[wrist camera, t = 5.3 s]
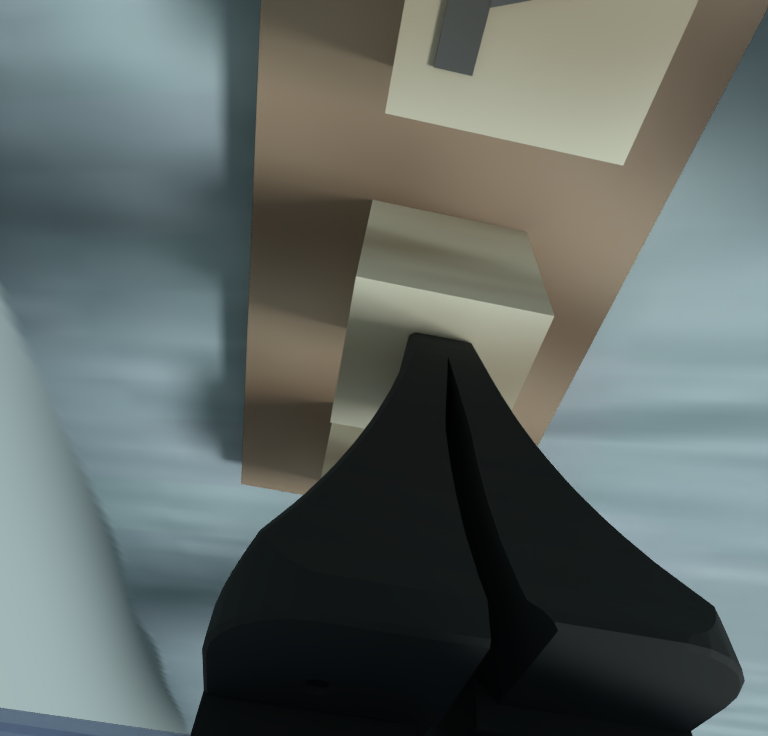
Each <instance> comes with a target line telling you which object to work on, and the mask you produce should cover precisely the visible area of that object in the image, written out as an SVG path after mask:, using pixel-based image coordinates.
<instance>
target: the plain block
mask: <svg viewBox="0 0 768 736" xmlns="http://www.w3.org/2000/svg"><path fill="white" fill-rule="evenodd" d="M553 318H554V313H553V310H552V307H551V304H550V301H549V298H548V295H547V292H546V289H545V286H544V283H543V280H542V277H541V274H540V271H539V268H538V265H537V262H536V259H535V256H534V253H533V250H532V247H531V244H530V241H529V238H528V235H527V232H524V231H520V230H515V229H510V228H505V227H500V226H496V225H491V224H486V223H481V222H477V221H472V220H467V219H462V218H458V217H453V216H448V215H443V214H438V213H434V212H429V211H424V210H419V209H415V208H410V207H405V206H400V205H396V204H391V203H386V202H381V201H377V200H373V201H372V206H371V210H370V215H369V219H368V224H367V228H366V233H365V238H364V242H363V247H362V251H361V256H360V260H359V265H358V269H357V274H356V279H355V285H354V290H353V296H352V302H351V307H350V313H349V319H348V324H347V330H346V335H345V341H344V347H343V352H342V358H341V364H340V369H339V375H338V380H337V386H336V392H335V397H334V403H333V409H332V414H331V420H330V423H336V424H341V425H347V426H352V427H358V428H363V429H365V428H366V426H367V425H368V424H369V422H370V421H371V419H372V418H373V417H374V415H375V414H376V412H377V411H378V409H379V407H380V406H381V404H382V402H383V401H384V399H385V398H386V396H387V394H388V393H389V391H390V389H391V387H392V386H393V384H394V382H395V379H396V377H397V375H398V373H399V371H400V367H401V363H402V360H403V356H404V352H405V348H406V344H407V341H408V337H409V335H411V334H413V333H415V332H417V333H422V334H427V335H433V336H438V337H443V338H448V339H453V340H458V341H463V342H469V343H472V345H473V347H474V348H475V350H476V352H477V354H478V355H479V357H480V359H481V361H482V362H483V364H484V366H485V368H486V369H487V371H488V373H489V375H490V376H491V378H492V380H493V382H494V383H495V385H496V387H497V388H498V390H499V392H500V393H501V395H502V397H503V398H504V400H505V401H506V403H507V404H508V406H509V407H510V409H511V410H512V408H513V406H514V404H515V402H516V399H517V397H518V395H519V393H520V391H521V388H522V386H523V384H524V382H525V380H526V377H527V375H528V373H529V371H530V369H531V366H532V364H533V362H534V360H535V358H536V355H537V353H538V351H539V349H540V347H541V345H542V342H543V340H544V338H545V336H546V334H547V331H548V329H549V327H550V325H551V323H552V320H553Z"/></svg>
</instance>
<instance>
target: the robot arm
mask: <svg viewBox="0 0 768 736" xmlns="http://www.w3.org/2000/svg"><path fill="white" fill-rule="evenodd" d="M202 655H203V679H204V692H203V695H202V699H201V702H200V705H199V709H198V712H197V715H196V719H195V722H194V725H193V729H192V732H191V735H188V734H181V733H174V732H167V731H160V730H153V729H146V728H138V727H132V726H125V725H118V724H110V723H104V722H97V721H90V720H83V719H76V718H69V717H61V716H54V715H47V714H40V713H33V712H26V711H19V710H12V709H5V708H0V736H692V733H691V731H692V730H693V729H695V728H696V727H698V726H699V725H701V724H702V723H704V722H705V721H706V720H708V719H709V718H711V717H712V716H714V715H715V714H717V713H718V712H720V711H721V710H723V709H724V708H726V707H727V706H728V705H729V704H730V703H731V702H732V701H733V700H734V699H736V698H737V696H738V694H739V693H740V690H741V688H742V686H743V683H744V681H745V680H744V676H743V672H742V668H741V666H740V664H739V661H738V659H737V657H736V654H735V652H734V650H733V647H732V645H731V642H730V640H729V638H728V635H727V633H726V631H725V629H724V626H723V624H722V622H721V620H720V617H719V615H718V614H717V612H716V610H715V607H714V606H713V605H711V604H710V603H709V602H707V601H706V600H705V599H703V598H702V597H701V596H699V595H698V594H697V593H695V592H694V591H692V590H691V589H690V588H688V587H687V586H686V585H684V584H683V583H682V582H680V581H679V580H678V579H676V578H675V577H674V576H672V575H671V574H670V573H668V572H667V571H665V570H664V569H663V568H661V567H660V566H659V565H658V564H656V563H655V562H654V561H653V560H651V559H650V558H649V557H648V556H647V555H645V554H644V553H643V552H642V551H641V550H639V549H638V548H637V547H636V546H635V545H633V544H632V543H631V542H630V541H629V540H627V539H626V538H625V537H624V536H623V535H622V534H620V533H619V532H618V531H617V530H616V529H615V528H614V527H613V526H612V525H610V524H609V523H608V522H607V521H606V520H605V519H604V518H603V517H602V516H601V515H600V514H599V513H598V512H597V511H596V510H595V509H594V508H593V507H592V506H591V505H590V504H589V503H587V502H586V501H585V500H584V499H583V498H582V497H581V496H580V495H579V494H578V493H577V492H576V490H575V489H574V488H573V487H572V486H571V485H570V484H569V483H568V482H567V481H566V480H565V479H564V478H563V476H562V475H561V474H560V473H559V472H558V471H557V470H556V468H555V467H554V466H553V465H552V464H551V463H550V461H549V460H548V459H547V458H546V457H545V456H544V454H543V453H542V452H541V451H540V449H539V448H538V447H537V446H536V444H535V443H534V442H533V440H532V439H531V438H530V436H529V435H528V434H527V432H526V431H525V429H524V428H523V427H522V425H521V424H520V423H519V421H518V420H517V418H516V417H515V415H514V414H513V412H512V411H511V409H510V407H509V406H508V404H507V403H506V401H505V400H504V398H503V397H502V395H501V393H500V392H499V390H498V388H497V387H496V385H495V383H494V382H493V380H492V378H491V376H490V375H489V373H488V371H487V369H486V368H485V366H484V364H483V362H482V361H481V359H480V357H479V355H478V354H477V352H476V350H475V348H474V347H473V345H472V343H469V342H463V341H458V340H453V339H448V338H443V337H438V336H433V335H427V334H422V333H417V332H415V333H413V334H411V335H409V337H408V341H407V344H406V348H405V352H404V356H403V360H402V363H401V367H400V371H399V373H398V375H397V377H396V379H395V382H394V384H393V386H392V387H391V389H390V391H389V393H388V394H387V396H386V398H385V399H384V401H383V402H382V404H381V406H380V407H379V409H378V411H377V412H376V414H375V415H374V417H373V418H372V419H371V421H370V422H369V424H368V425H367V426H366V428H365V429H364V430H363V432H362V433H361V434H360V436H359V437H358V438H357V439H356V441H355V442H354V443H353V444H352V445H351V447H350V448H349V449H348V450H347V451H346V452H345V454H344V455H343V456H342V457H341V458H340V459H339V460H338V461H337V463H336V464H335V465H334V466H333V467H332V468H331V469H330V470H329V471H328V472H327V473H326V474H325V475H324V476H323V477H322V478H321V479H320V480H319V481H318V482H317V483H315V484H314V485H313V486H312V487H311V488H310V489H309V490H308V491H307V492H306V493H305V494H304V495H303V496H302V497H301V498H299V499H298V500H297V501H296V502H295V503H294V504H292V505H291V506H290V507H289V508H287V509H286V510H285V511H284V512H282V513H281V514H280V515H279V516H277V517H276V518H275V519H274V520H272V521H271V522H270V523H269V524H267V525H266V526H265V527H264V528H262V529H261V530H260V531H259V532H258V534H257V535H256V537H255V538H254V540H253V541H252V542H251V544H250V545H249V547H248V548H247V550H246V551H245V553H244V554H243V556H242V557H241V559H240V560H239V562H238V563H237V565H236V566H235V568H234V570H233V571H232V573H231V575H230V576H229V578H228V580H227V582H226V583H225V585H224V587H223V589H222V591H221V593H220V596H219V598H218V600H217V602H216V604H215V607H214V610H213V613H212V616H211V620H210V623H209V626H208V630H207V633H206V637H205V640H204V644H203V648H202Z"/></svg>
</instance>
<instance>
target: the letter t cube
mask: <svg viewBox="0 0 768 736" xmlns="http://www.w3.org/2000/svg"><path fill="white" fill-rule="evenodd" d="M697 2H698V0H405V3H404V9H403V14H402V20H401V26H400V31H399V37H398V42H397V48H396V54H395V59H394V65H393V71H392V76H391V82H390V87H389V93H388V99H387V104H386V110H385V113H386V114H391V115H395V116H400V117H404V118H409V119H413V120H418V121H423V122H427V123H432V124H436V125H441V126H445V127H450V128H454V129H459V130H463V131H468V132H472V133H477V134H482V135H486V136H491V137H495V138H500V139H504V140H509V141H513V142H518V143H522V144H527V145H531V146H536V147H541V148H545V149H550V150H554V151H559V152H563V153H568V154H572V155H577V156H581V157H586V158H590V159H595V160H600V161H604V162H609V163H613V164H618V165H622V166H623V165H624V163H625V160H626V158H627V156H628V154H629V152H630V149H631V147H632V145H633V143H634V141H635V138H636V136H637V134H638V132H639V130H640V127H641V125H642V123H643V121H644V119H645V116H646V114H647V112H648V110H649V108H650V106H651V103H652V101H653V99H654V97H655V95H656V92H657V90H658V88H659V86H660V84H661V81H662V79H663V77H664V75H665V73H666V70H667V68H668V66H669V64H670V62H671V59H672V57H673V55H674V53H675V51H676V48H677V46H678V44H679V42H680V40H681V38H682V35H683V33H684V31H685V29H686V27H687V24H688V22H689V20H690V18H691V16H692V13H693V11H694V9H695V7H696V5H697Z"/></svg>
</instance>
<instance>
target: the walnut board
mask: <svg viewBox="0 0 768 736" xmlns="http://www.w3.org/2000/svg"><path fill="white" fill-rule="evenodd" d="M404 3H405V0H261V11H260V36H259V60H258V85H257V109H256V134H255V158H254V183H253V207H252V232H251V257H250V281H249V306H248V330H247V355H246V379H245V404H244V428H243V453H242V477H241V484H244V485H250V486H256V487H262V488H267V489H273V490H279V491H285V492H291V493H296V494H302V495H304V494H305V493H306V492H307V491H308V490H309V489H310V488H311V487H312V486H313V485H314V484H315V483H317V482H318V481H319V480H320V479H321V474H322V469H323V464H324V460H325V455H326V450H327V445H328V440H329V435H330V430H331V425H332V423H330V420H331V414H332V409H333V403H334V397H335V392H336V386H337V380H338V375H339V369H340V364H341V358H342V352H343V347H344V341H345V335H346V330H347V324H348V319H349V313H350V307H351V302H352V296H353V290H354V285H355V279H356V274H357V269H358V265H359V260H360V256H361V251H362V247H363V242H364V238H365V233H366V228H367V224H368V219H369V215H370V210H371V206H372V201H373V200H377V201H381V202H386V203H391V204H396V205H400V206H405V207H410V208H415V209H419V210H424V211H429V212H434V213H438V214H443V215H448V216H453V217H458V218H462V219H467V220H472V221H477V222H481V223H486V224H491V225H496V226H500V227H505V228H510V229H515V230H520V231H524V232H527V235H528V238H529V241H530V244H531V247H532V250H533V253H534V256H535V259H536V262H537V265H538V268H539V271H540V274H541V277H542V280H543V283H544V286H545V289H546V292H547V295H548V298H549V301H550V304H551V307H552V310H553V313H554V318H553V320H552V323H551V325H550V327H549V329H548V331H547V334H546V336H545V338H544V340H543V342H542V345H541V347H540V349H539V351H538V353H537V355H536V358H535V360H534V362H533V364H532V366H531V369H530V371H529V373H528V375H527V377H526V380H525V382H524V384H523V386H522V388H521V391H520V393H519V395H518V397H517V399H516V402H515V404H514V406H513V408H512V410H511V411H512V412H513V414H514V415H515V417H516V418H517V420H518V421H519V423H520V424H521V425H522V427H523V428H524V429H525V431H526V432H527V434H528V435H529V436H530V438H531V439H532V440H533V442H534V443H535V444H536V446H538V444H539V442H540V440H541V439H542V437H543V435H544V433H545V431H546V429H547V427H548V425H549V423H550V421H551V420H552V418H553V416H554V414H555V412H556V410H557V408H558V406H559V404H560V402H561V401H562V399H563V397H564V395H565V393H566V391H567V389H568V387H569V385H570V383H571V381H572V380H573V378H574V376H575V374H576V372H577V370H578V368H579V366H580V364H581V362H582V361H583V359H584V357H585V355H586V353H587V351H588V349H589V347H590V345H591V343H592V342H593V340H594V338H595V336H596V334H597V332H598V330H599V328H600V326H601V324H602V323H603V321H604V319H605V317H606V315H607V313H608V311H609V309H610V307H611V305H612V304H613V302H614V300H615V298H616V296H617V294H618V292H619V290H620V288H621V286H622V285H623V283H624V281H625V279H626V277H627V275H628V273H629V271H630V269H631V267H632V265H633V264H634V262H635V260H636V258H637V256H638V254H639V252H640V250H641V248H642V246H643V245H644V243H645V241H646V239H647V237H648V235H649V233H650V231H651V229H652V227H653V226H654V224H655V222H656V220H657V218H658V216H659V214H660V212H661V210H662V208H663V207H664V205H665V203H666V201H667V199H668V197H669V195H670V193H671V191H672V189H673V188H674V186H675V184H676V182H677V180H678V178H679V176H680V174H681V172H682V170H683V168H684V167H685V165H686V163H687V161H688V159H689V157H690V155H691V153H692V151H693V149H694V148H695V146H696V144H697V142H698V140H699V138H700V136H701V134H702V132H703V130H704V129H705V127H706V125H707V123H708V121H709V119H710V117H711V115H712V113H713V111H714V110H715V108H716V106H717V104H718V102H719V100H720V98H721V96H722V94H723V92H724V91H725V89H726V87H727V85H728V83H729V81H730V79H731V77H732V75H733V73H734V71H735V70H736V68H737V66H738V64H739V62H740V60H741V58H742V56H743V54H744V52H745V51H746V49H747V47H748V45H749V43H750V41H751V39H752V37H753V35H754V33H755V32H756V30H757V28H758V26H759V24H760V22H761V20H762V18H763V16H764V14H765V13H766V11H767V9H768V0H698V2H697V5H696V7H695V9H694V11H693V13H692V16H691V18H690V20H689V22H688V24H687V27H686V29H685V31H684V33H683V35H682V38H681V40H680V42H679V44H678V46H677V48H676V51H675V53H674V55H673V57H672V59H671V62H670V64H669V66H668V68H667V70H666V73H665V75H664V77H663V79H662V81H661V84H660V86H659V88H658V90H657V92H656V95H655V97H654V99H653V101H652V103H651V106H650V108H649V110H648V112H647V114H646V116H645V119H644V121H643V123H642V125H641V127H640V130H639V132H638V134H637V136H636V138H635V141H634V143H633V145H632V147H631V149H630V152H629V154H628V156H627V158H626V160H625V163H624V165H623V166H622V165H618V164H613V163H609V162H604V161H600V160H595V159H590V158H586V157H581V156H577V155H572V154H568V153H563V152H559V151H554V150H550V149H545V148H541V147H536V146H531V145H527V144H522V143H518V142H513V141H509V140H504V139H500V138H495V137H491V136H486V135H482V134H477V133H472V132H468V131H463V130H459V129H454V128H450V127H445V126H441V125H436V124H432V123H427V122H423V121H418V120H413V119H409V118H404V117H400V116H395V115H391V114H386V113H385V110H386V104H387V99H388V93H389V87H390V82H391V76H392V71H393V65H394V59H395V54H396V48H397V42H398V37H399V31H400V26H401V20H402V14H403V9H404Z"/></svg>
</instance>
